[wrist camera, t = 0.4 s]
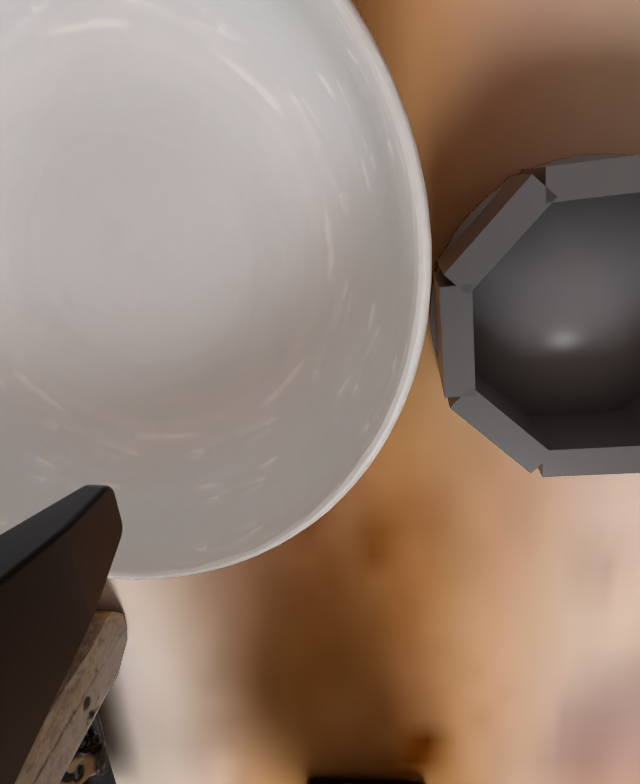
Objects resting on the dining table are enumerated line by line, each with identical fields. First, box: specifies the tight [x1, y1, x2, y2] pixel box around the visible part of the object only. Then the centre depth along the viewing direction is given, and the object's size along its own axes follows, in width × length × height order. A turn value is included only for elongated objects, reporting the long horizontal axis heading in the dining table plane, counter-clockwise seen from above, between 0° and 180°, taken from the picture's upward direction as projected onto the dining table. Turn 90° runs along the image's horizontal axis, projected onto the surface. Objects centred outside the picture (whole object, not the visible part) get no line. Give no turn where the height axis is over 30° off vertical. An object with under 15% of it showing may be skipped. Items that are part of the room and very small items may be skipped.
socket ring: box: [430, 154, 640, 477], centre depth 19 cm, size 10×10×4 cm
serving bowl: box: [0, 0, 432, 579], centre depth 19 cm, size 21×21×7 cm
